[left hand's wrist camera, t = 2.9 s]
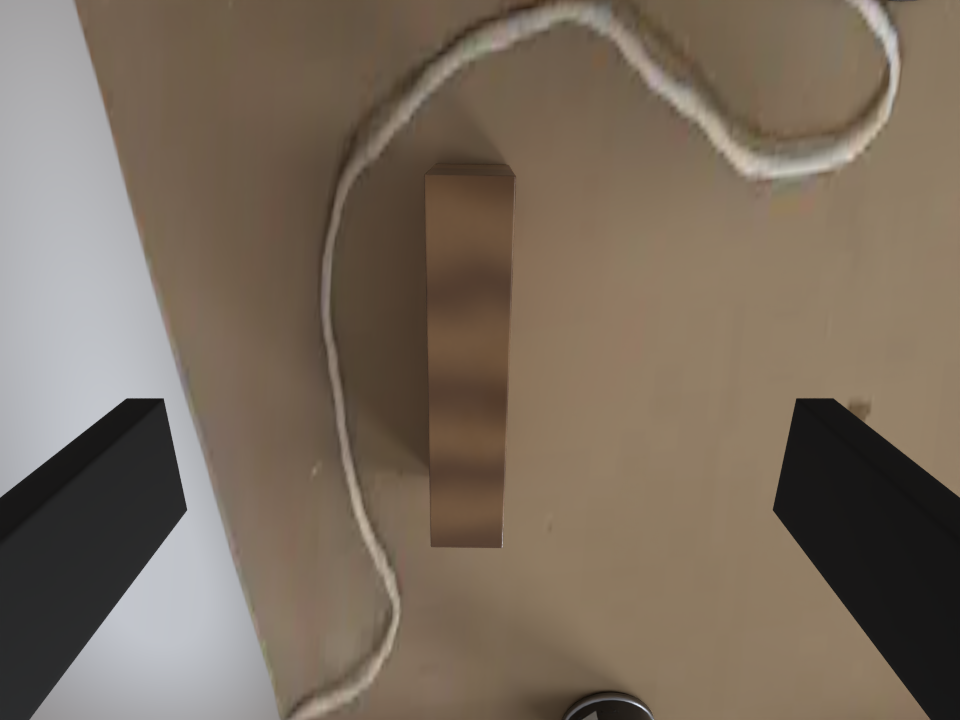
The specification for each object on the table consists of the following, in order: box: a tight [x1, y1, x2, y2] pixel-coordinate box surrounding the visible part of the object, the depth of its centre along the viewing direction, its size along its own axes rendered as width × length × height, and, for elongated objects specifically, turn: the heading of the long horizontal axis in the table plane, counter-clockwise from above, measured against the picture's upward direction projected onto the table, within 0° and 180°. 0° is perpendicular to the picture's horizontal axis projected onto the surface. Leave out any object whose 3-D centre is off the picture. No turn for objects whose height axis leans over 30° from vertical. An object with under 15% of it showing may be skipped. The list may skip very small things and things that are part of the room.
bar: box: [424, 164, 516, 548], centre depth 42 cm, size 25×5×9 cm, turn 179°
